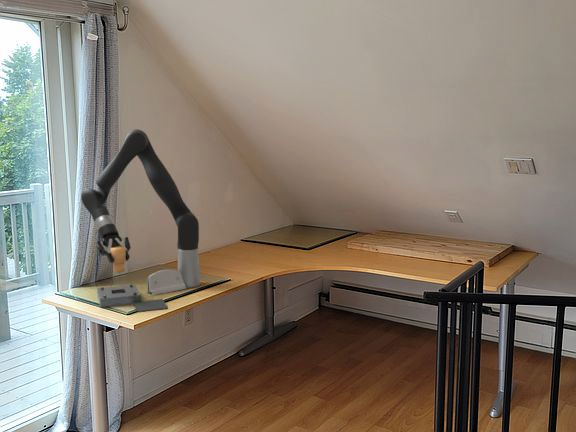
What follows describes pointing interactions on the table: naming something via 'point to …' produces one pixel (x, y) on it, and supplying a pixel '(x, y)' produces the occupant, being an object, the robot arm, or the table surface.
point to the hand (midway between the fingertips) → (120, 260)
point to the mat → (150, 305)
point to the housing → (118, 295)
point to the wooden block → (118, 258)
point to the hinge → (165, 282)
